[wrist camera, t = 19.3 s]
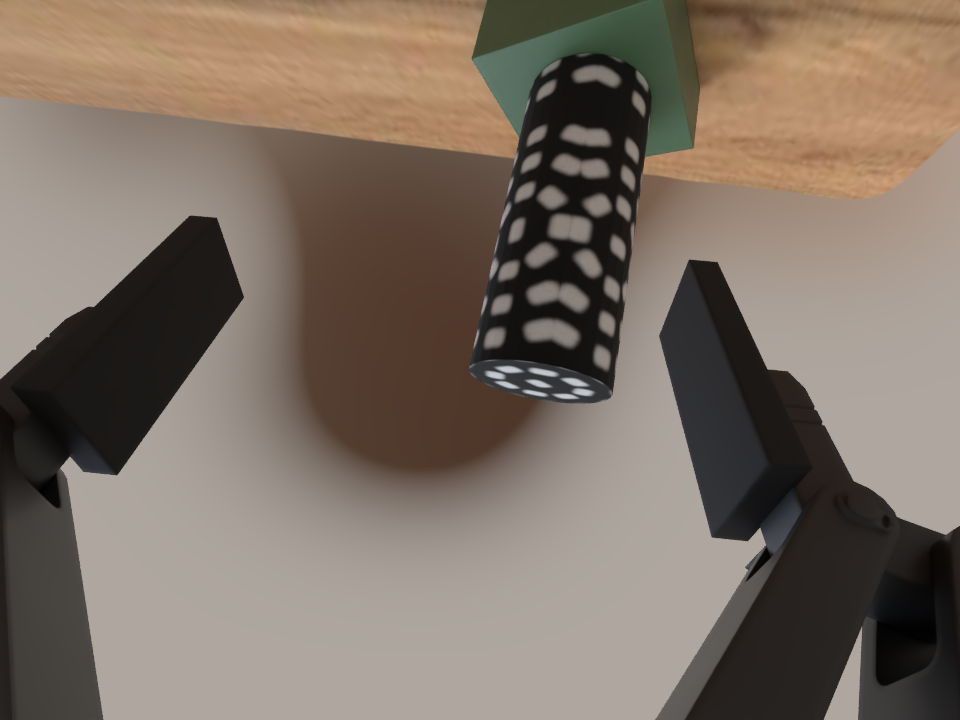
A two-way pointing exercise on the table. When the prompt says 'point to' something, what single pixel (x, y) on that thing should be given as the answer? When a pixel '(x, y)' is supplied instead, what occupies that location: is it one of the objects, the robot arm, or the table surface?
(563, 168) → the spotted tube
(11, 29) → the table surface
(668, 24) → the block
